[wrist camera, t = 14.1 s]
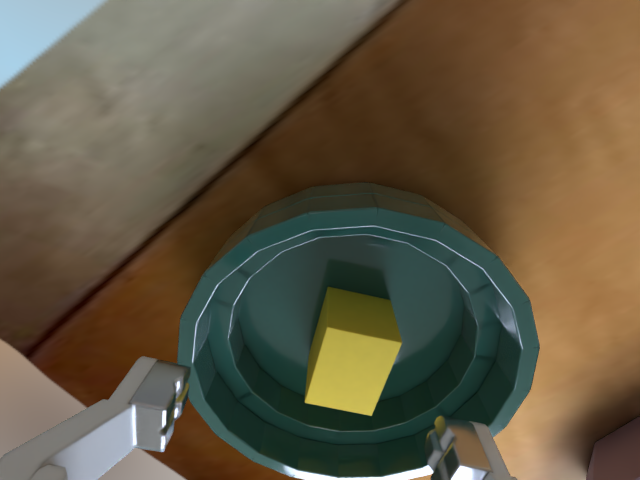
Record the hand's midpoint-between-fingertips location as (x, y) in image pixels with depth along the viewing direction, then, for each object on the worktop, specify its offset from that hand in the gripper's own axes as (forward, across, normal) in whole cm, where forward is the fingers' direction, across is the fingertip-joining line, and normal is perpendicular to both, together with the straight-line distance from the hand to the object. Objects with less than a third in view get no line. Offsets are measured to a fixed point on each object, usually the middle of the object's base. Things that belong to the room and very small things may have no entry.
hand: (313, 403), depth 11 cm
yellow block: (+8, -2, +3) cm, 9 cm away
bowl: (+9, -2, +3) cm, 9 cm away
